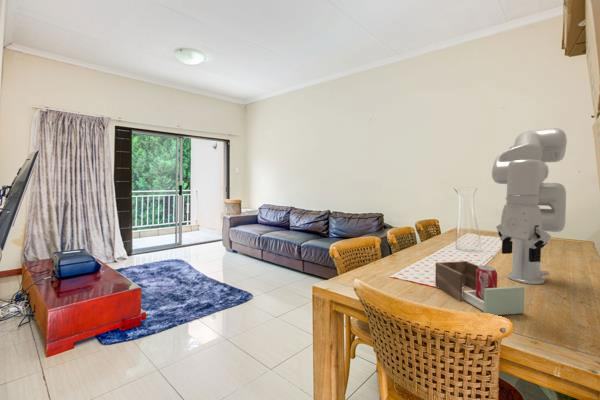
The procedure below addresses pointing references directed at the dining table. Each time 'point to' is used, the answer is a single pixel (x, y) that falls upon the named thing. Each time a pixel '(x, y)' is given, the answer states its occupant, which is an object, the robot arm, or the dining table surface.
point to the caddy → (455, 277)
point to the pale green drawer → (498, 300)
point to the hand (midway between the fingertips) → (519, 257)
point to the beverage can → (485, 280)
